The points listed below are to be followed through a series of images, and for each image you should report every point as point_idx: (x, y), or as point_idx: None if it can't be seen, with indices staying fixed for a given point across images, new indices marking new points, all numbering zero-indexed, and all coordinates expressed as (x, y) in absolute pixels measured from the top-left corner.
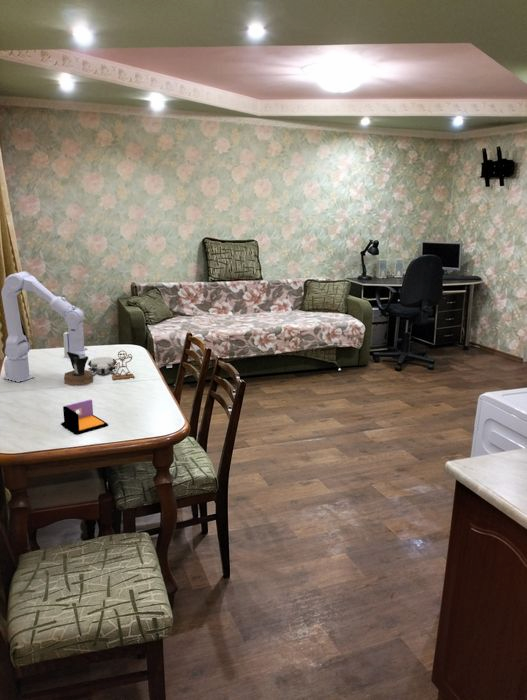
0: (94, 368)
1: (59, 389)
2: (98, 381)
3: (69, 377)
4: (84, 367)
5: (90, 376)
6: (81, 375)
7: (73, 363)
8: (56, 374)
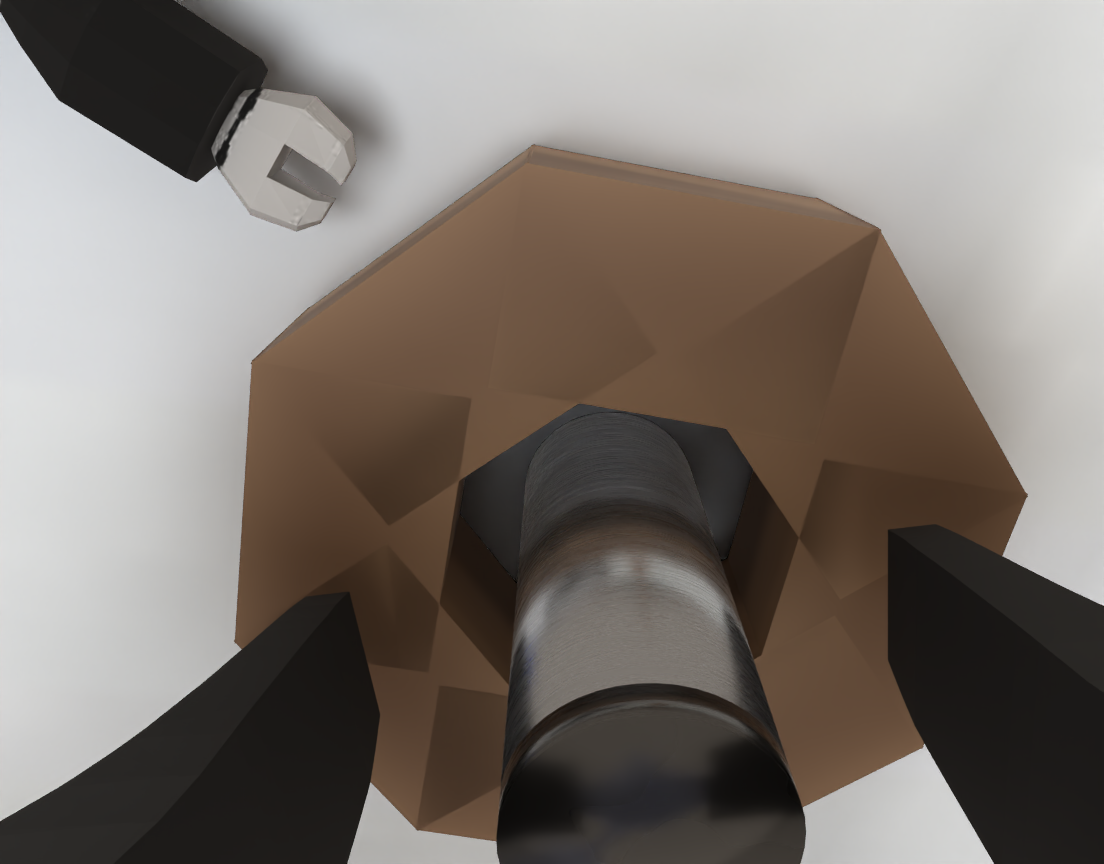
0: (137, 31)
1: (949, 847)
2: (838, 48)
3: (797, 783)
4: (1078, 610)
5: (909, 296)
6: (693, 504)
7: (330, 834)
8: (15, 804)
